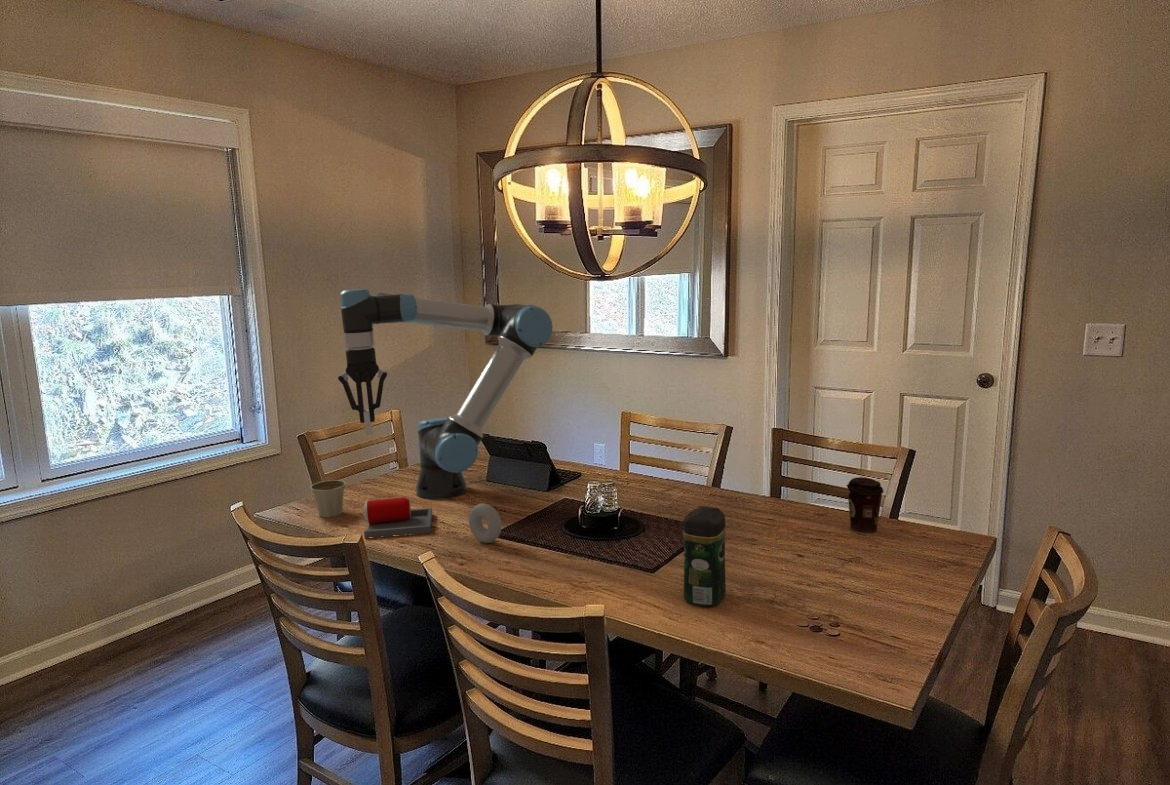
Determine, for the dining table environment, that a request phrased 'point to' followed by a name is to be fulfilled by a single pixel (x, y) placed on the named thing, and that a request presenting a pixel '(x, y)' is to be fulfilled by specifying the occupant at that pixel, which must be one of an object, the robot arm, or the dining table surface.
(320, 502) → the flower pot
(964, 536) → the dining table surface
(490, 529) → the donut
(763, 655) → the dining table surface
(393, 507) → the beverage can
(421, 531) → the tray
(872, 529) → the coffee cup
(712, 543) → the coffee jar
